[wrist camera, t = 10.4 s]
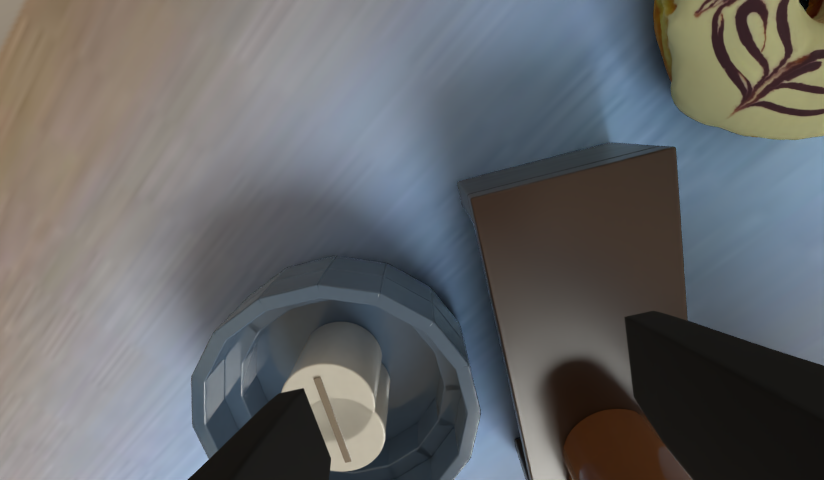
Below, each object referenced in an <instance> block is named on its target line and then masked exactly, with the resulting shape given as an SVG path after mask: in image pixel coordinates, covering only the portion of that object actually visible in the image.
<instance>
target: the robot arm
mask: <svg viewBox="0 0 824 480" xmlns="http://www.w3.org/2000/svg"><path fill="white" fill-rule="evenodd" d="M624 318H625V327H626V335H627V344H628V352H629V361H630V369H631V378H632V387H633V395H634V398H635V399H636V401H637V403H638V404H639V406H640V407H641V409H642V411H643V412H644V414H645V415H646V417H647V419H648V420H649V422H650V423H651V425H652V426H653V428H654V429H655V431H656V432H657V434H658V435H659V437H660V438H661V440H662V441H663V443H664V444H665V445H666V446H667V448H668V449H669V450H670V451H671V453H672V454H673V455H674V456H675V458H676V459H677V460H678V461H679V463H680V464H681V465H682V466H683V468H684V469H685V470H686V471H687V473H688V474H689V475H690V476H691V477H692V479H693V480H824V366H823V365H820V364H817V363H813V362H810V361H807V360H804V359H801V358H797V357H794V356H791V355H788V354H785V353H782V352H779V351H776V350H772V349H769V348H766V347H763V346H760V345H757V344H754V343H751V342H748V341H745V340H743V339H740V338H737V337H734V336H731V335H728V334H725V333H722V332H719V331H716V330H713V329H710V328H707V327H705V326H702V325H699V324H696V323H693V322H690V321H687V320H684V319H681V318H678V317H675V316H671V315H668V314H665V313H661V312H657V311H649V312H645V313H640V314H636V315H631V316H627V317H624ZM330 466H331V457H330V454H329V452H328V449H327V447H326V444H325V441H324V439H323V436H322V434H321V431H320V429H319V426H318V424H317V421H316V418H315V416H314V413H313V411H312V408H311V406H310V403H309V401H308V398H307V395H306V393H305V390H304V388H301V389H297V390H292V391H288V392H283V393H279V394H277V395H276V396H275V397H274V398H272V399H271V400H270V401H269V402H268V403H267V404H266V405H264V406H263V407H262V408H261V409H260V410H259V411H258V412H257V413H256V414H255V415H254V416H253V417H252V418H251V419H250V420H249V421H248V422H247V423H246V424H245V425H244V426H243V427H242V428H241V429H240V430H238V431H237V432H236V433H235V434H234V435H233V436H232V437H231V438H230V439H229V440H228V441H227V442H226V443H225V444H224V445H223V446H222V447H221V448H220V449H219V450H218V451H217V452H216V453H215V454H214V455H213V456H212V457H211V458H210V459H209V460H208V461H207V462H206V463H205V464H204V465H203V466H202V467H201V468H200V469H199V470H198V471H196V472H195V473H194V474H193V475H192V476H191V477H190V478H189V479H188V480H329V475H330Z"/></svg>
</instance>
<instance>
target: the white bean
mask: <svg viewBox="0 0 824 480" xmlns="http://www.w3.org/2000/svg"><path fill="white" fill-rule="evenodd" d="M301 388H304V390H305V393H306V395H307V398H308V401H309V403H310V406H311V408H312V411H313V413H314V416H315V418H316V421H317V424H318V426H319V429H320V431H321V434H322V436H323V439H324V441H325V444H326V447H327V449H328V452H329V454H330V457H331V466H330V470H331V471H339V472H345V471H353V470H357V469H360V468H362V467H364V466H366V465H368V464H369V463H371V462H372V461H373V460H374V459H376V457H377V456H378V455H379V454H380V452H381V450H382V449H383V446H384V443H385V438H386V427H387V417H388V406H389V395H390V377H389V374H388V372H387V370H386V368H385V367H384V365H383V364H382V352H381V348H380V346H379V344H378V342H377V340H376V339H375V337H374V336H373V335H372V334H371V333H370V332H369V331H367V330H366V329H365V328H363V327H361V326H359V325H357V324H354V323H350V322H332V323H328V324H325V325H323V326H321V327H319V328H317V329H316V330H315V331H314V332H312V334H311V335H310V336H309V337H308V339H307V341H306V342H305V344H304V346H303V348H302V350H301V352H300V354H299V356H298V358H297V360H296V362H295V364H294V366H293V368H292V370H291V372H290V374H289V376H288V378H287V380H286V382H285V384H284V386H283V388H282V391H281V393H283V392H288V391H292V390H297V389H301Z"/></svg>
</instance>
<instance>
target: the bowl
mask: <svg viewBox="0 0 824 480" xmlns="http://www.w3.org/2000/svg"><path fill="white" fill-rule="evenodd" d="M332 322H350V323H354V324H357V325H359V326H361V327H363V328H365V329H366V330H367V331H369V332H370V333H371V334H372V335H373V336H374V337H375V339H376V340H377V342H378V344H379V346H380V348H381V352H382V364H383V365H384V367H385V368H386V370H387V372H388V374H389V377H390V395H389V406H388V417H387V427H386V438H385V443H384V446H383V449H382V450H381V452H380V454H379V455H378V456H377V457H376V459H374V460H373V461H372V462H371V463H369V464H368V465H366V466H364V467H362V468H360V469H357V470H353V471H345V472H339V471H331V470H330V475H329V480H454V479H455V477H456V476H457V475H458V473H459V472H460V471H461V470H462V468H463V467H464V466H465V465H466V463H467V462H468V461H469V460H470V458H471V455H472V450H473V446H474V442H475V437H476V433H477V429H478V424H479V420H480V415H481V410H480V405H479V401H478V397H477V393H476V388H475V384H474V380H473V376H472V371H471V367H470V363H469V359H468V355H467V351H466V347H465V343H464V339H463V335H462V331H461V327H460V324H459V322H458V321H457V320H456V319H455V317H454V316H453V315H452V313H451V312H450V311H449V310H448V308H447V307H446V306H445V305H444V303H443V302H442V301H441V300H440V298H439V297H438V296H437V295H436V293H435V292H434V291H433V290H432V288H430V286H428V285H426V284H424V283H422V282H420V281H419V280H417V279H415V278H413V277H411V276H410V275H408V274H406V273H404V272H402V271H401V270H399V269H397V268H395V267H393V266H392V265H390V264H388V263H383V262H376V261H368V260H361V259H353V258H346V257H339V256H336V257H335V256H332V257H328V258H324V259H320V260H316V261H312V262H308V263H304V264H299V265H295V266H291V267H287V268H286V269H284V270H283V271H281V272H280V273H279V274H277V275H276V276H275V277H273V278H272V279H271V280H269V281H268V282H267V283H266V284H264V285H263V286H262V287H260V288H259V289H258V290H256V291H255V292H254V293H252V294H251V295H250V296H249V297H248V298H247V299H246V300H245V301H244V302H243V303H242V304H241V305H240V306H239V307H238V308H237V309H236V310H235V311H234V312H233V313H232V314H231V315H230V316H229V317H228V318H227V319H226V320H225V321H224V322H223V323H222V324H221V325H220V326H219V327H218V328H217V329H216V330H215V331H214V332H213V334H212V336H211V338H210V340H209V342H208V344H207V346H206V348H205V350H204V352H203V354H202V356H201V358H200V360H199V362H198V364H197V366H196V368H195V370H194V372H193V374H192V378H191V389H192V425H193V428H194V430H195V432H196V434H197V436H198V438H199V440H200V442H201V444H202V446H203V448H204V450H205V452H206V454H207V456H208V458H209V459H210V458H211V457H212V456H213V455H214V454H215V453H216V452H217V451H218V450H219V449H220V448H221V447H222V446H223V445H224V444H225V443H226V442H227V441H228V440H229V439H230V438H231V437H232V436H233V435H234V434H235V433H236V432H237V431H238V430H240V429H241V428H242V427H243V426H244V425H245V424H246V423H247V422H248V421H249V420H250V419H251V418H252V417H253V416H254V415H255V414H256V413H257V412H258V411H259V410H260V409H261V408H262V407H263V406H264V405H266V404H267V403H268V402H269V401H270V400H271V399H272V398H274V397H275V396H276V395H277V394H279V393H281V391H282V388H283V386H284V384H285V382H286V380H287V378H288V376H289V374H290V372H291V370H292V368H293V366H294V364H295V362H296V360H297V358H298V356H299V354H300V352H301V350H302V348H303V346H304V344H305V342H306V341H307V339H308V337H309V336H310V335H311V334H312V332H314V331H315V330H316V329H317V328H319V327H321V326H323V325H325V324H328V323H332Z"/></svg>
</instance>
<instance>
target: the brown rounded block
mask: <svg viewBox="0 0 824 480" xmlns="http://www.w3.org/2000/svg"><path fill="white" fill-rule="evenodd" d="M563 458H564V462H565V465H566V467H567V469H568V471H569V474H570V475H569V480H693V479H692V477H691V476H690V475H689V474H688V473H687V471H686V470H685V469H684V468H683V466H682V465H681V464H680V463H679V461H678V460H677V459H676V458H675V456H674V455H673V454H672V453H671V451H670V450H669V449H668V448H667V446H666V445H665V444H664V443H663V441H662V440H661V438H660V437H659V435H658V434H657V432H656V431H655V429H654V428H653V426H652V425H651V423H650V422H649V420H648V419H647V417H645V416H644V415H642V414H640V413H638V412H635V411H632V410H628V409H607V410H602V411H599V412H596V413H593V414H591V415H589V416H587V417H586V418H584V419H583V420H581V421H580V422H579V423H577V424H576V425H575V426H574V427H573V429H572V430H571V431H570V433H569V434H568V436H567V438H566V440H565V443H564V447H563Z"/></svg>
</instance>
